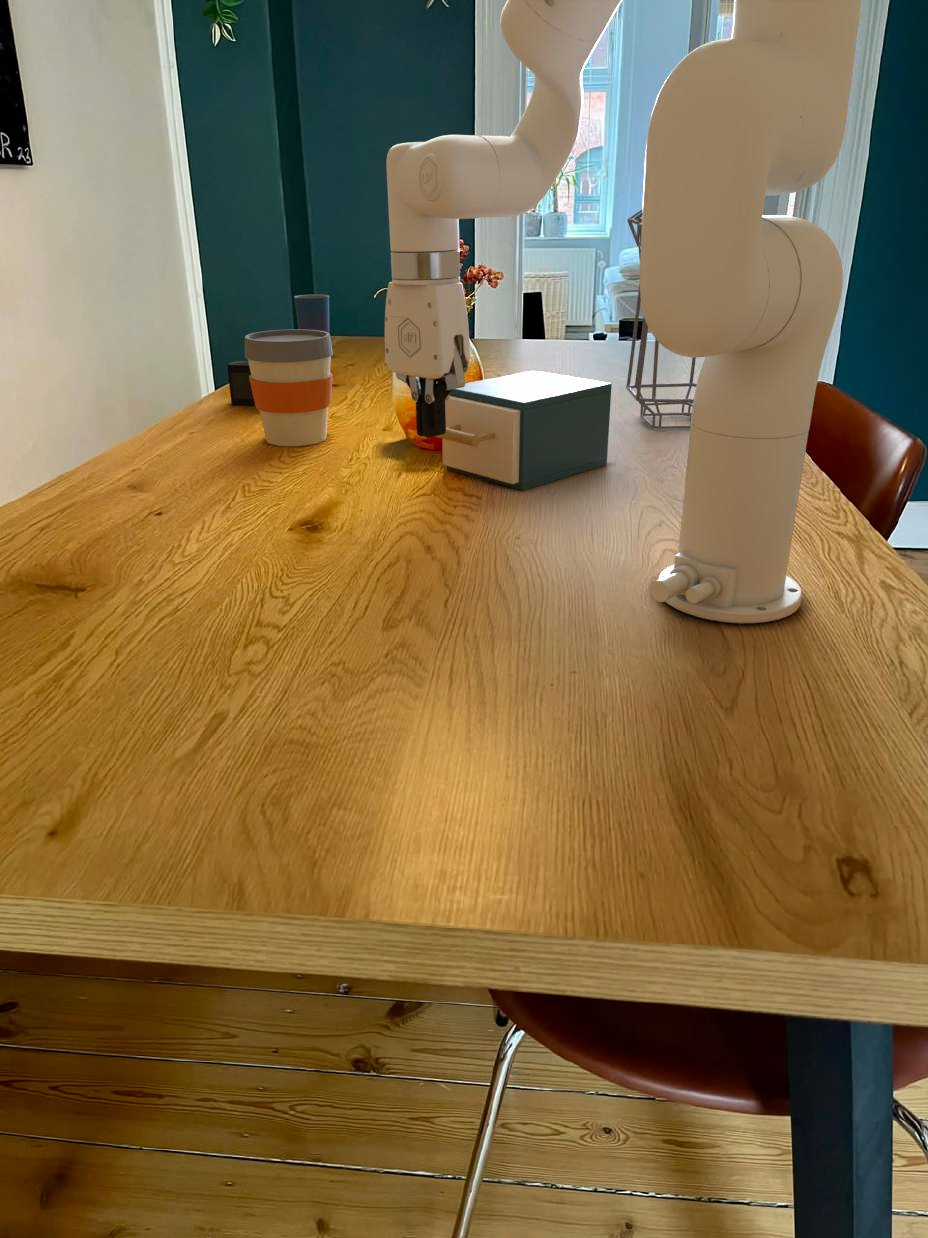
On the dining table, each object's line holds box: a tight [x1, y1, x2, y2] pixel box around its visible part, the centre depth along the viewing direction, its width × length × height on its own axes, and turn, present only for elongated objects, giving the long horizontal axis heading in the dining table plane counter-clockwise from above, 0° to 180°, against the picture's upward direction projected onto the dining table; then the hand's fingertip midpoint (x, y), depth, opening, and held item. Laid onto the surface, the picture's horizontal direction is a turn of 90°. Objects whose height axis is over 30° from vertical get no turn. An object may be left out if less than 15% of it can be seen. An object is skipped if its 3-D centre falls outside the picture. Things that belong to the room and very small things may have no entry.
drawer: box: [434, 396, 520, 484], centre depth 118 cm, size 20×13×9 cm, turn 134°
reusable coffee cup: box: [244, 328, 334, 447], centre depth 134 cm, size 13×13×15 cm
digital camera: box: [226, 360, 256, 407], centre depth 158 cm, size 10×5×7 cm, turn 80°
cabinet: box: [446, 369, 613, 491], centre depth 120 cm, size 17×14×11 cm
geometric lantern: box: [625, 208, 697, 430], centre depth 138 cm, size 16×16×35 cm
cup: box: [293, 294, 330, 334], centre depth 183 cm, size 7×7×15 cm
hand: (431, 434), depth 108 cm, fingers closed
